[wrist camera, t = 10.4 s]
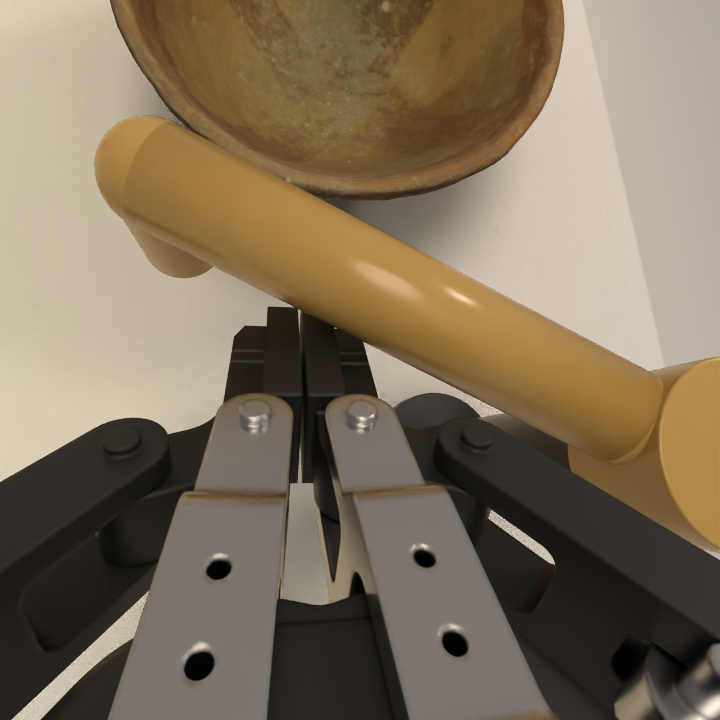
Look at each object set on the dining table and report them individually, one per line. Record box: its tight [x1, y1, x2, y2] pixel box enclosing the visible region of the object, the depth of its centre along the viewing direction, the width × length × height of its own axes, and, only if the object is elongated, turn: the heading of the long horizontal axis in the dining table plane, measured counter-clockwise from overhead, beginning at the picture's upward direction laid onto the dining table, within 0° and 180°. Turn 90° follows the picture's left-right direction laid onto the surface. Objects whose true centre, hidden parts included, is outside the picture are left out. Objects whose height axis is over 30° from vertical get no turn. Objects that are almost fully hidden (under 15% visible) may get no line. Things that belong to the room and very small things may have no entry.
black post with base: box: [393, 393, 571, 471], centre depth 21 cm, size 7×7×16 cm
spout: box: [94, 116, 720, 553], centre depth 11 cm, size 16×4×4 cm, turn 65°
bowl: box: [110, 0, 564, 200], centre depth 27 cm, size 22×23×10 cm
